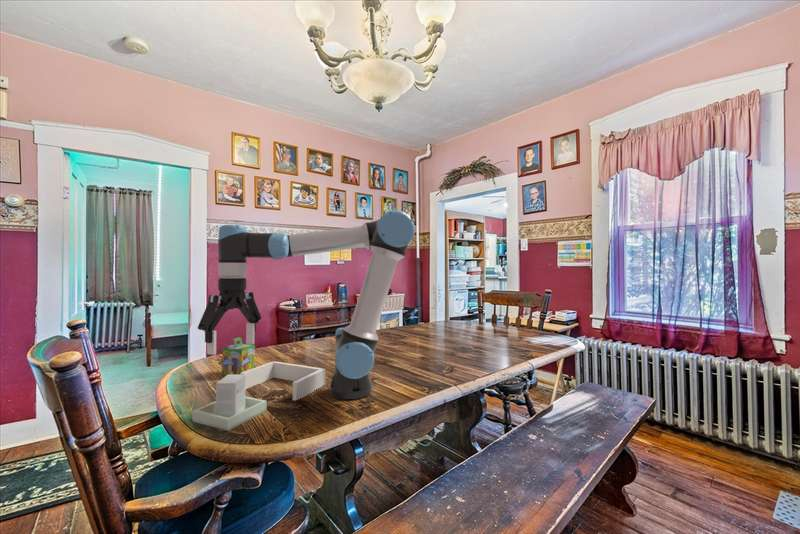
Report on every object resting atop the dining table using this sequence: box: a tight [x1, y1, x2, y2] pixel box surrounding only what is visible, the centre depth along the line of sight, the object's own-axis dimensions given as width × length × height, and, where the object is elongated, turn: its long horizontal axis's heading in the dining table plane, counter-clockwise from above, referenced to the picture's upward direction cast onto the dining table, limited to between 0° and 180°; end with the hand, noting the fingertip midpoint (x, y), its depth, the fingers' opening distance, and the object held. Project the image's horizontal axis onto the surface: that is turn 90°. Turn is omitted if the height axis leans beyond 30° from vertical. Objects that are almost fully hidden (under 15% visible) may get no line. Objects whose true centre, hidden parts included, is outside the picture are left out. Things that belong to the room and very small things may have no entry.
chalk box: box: [221, 337, 256, 378], centre depth 137 cm, size 9×9×15 cm
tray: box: [191, 395, 268, 432], centre depth 99 cm, size 14×14×3 cm
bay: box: [240, 360, 326, 402], centre depth 123 cm, size 25×16×6 cm, turn 68°
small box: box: [215, 375, 247, 418], centre depth 99 cm, size 8×6×10 cm
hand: (232, 348), depth 99 cm, fingers open, 13 cm apart
